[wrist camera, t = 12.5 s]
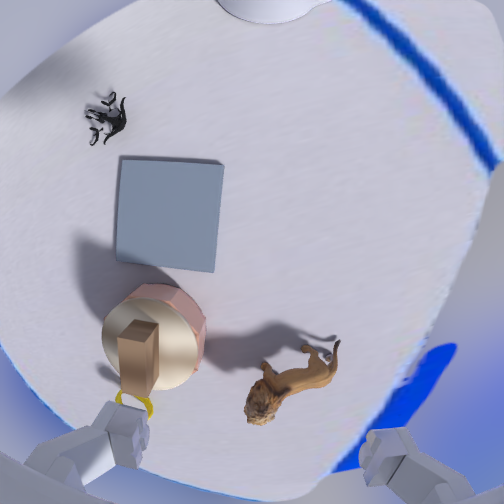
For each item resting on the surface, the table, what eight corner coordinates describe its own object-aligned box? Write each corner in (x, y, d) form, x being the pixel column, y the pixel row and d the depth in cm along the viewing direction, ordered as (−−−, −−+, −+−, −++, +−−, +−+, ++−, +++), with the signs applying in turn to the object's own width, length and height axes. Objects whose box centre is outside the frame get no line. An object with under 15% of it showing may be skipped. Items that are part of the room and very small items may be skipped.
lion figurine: (257, 399, 43) (257, 439, 34) (237, 374, 42) (233, 413, 34) (347, 351, 42) (365, 385, 33) (330, 322, 41) (346, 354, 32)
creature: (83, 142, 38) (121, 157, 37) (58, 134, 33) (95, 150, 32) (105, 91, 37) (146, 101, 36) (82, 79, 32) (123, 87, 30)
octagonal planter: (122, 277, 40) (102, 290, 34) (209, 289, 40) (200, 305, 34) (124, 355, 42) (108, 375, 36) (204, 369, 42) (196, 393, 36)
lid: (103, 289, 34) (78, 306, 28) (201, 305, 34) (190, 326, 28) (108, 375, 36) (89, 399, 31) (196, 393, 36) (187, 422, 31)
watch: (122, 387, 44) (105, 406, 38) (130, 378, 43) (114, 397, 38) (151, 412, 44) (138, 433, 38) (160, 403, 44) (147, 425, 38)
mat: (125, 160, 37) (122, 159, 36) (224, 166, 37) (223, 165, 36) (119, 259, 40) (116, 260, 39) (214, 271, 40) (213, 272, 39)
